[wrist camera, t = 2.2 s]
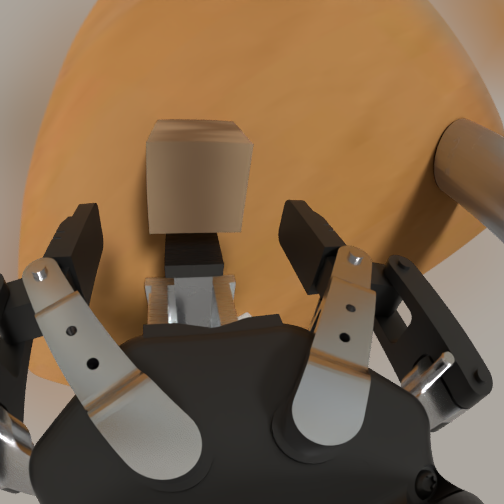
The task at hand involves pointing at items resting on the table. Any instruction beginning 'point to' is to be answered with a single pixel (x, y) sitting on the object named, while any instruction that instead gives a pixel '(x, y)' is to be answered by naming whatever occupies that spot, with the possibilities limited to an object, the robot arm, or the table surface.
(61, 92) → the table surface
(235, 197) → the walnut block
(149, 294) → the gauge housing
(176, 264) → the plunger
